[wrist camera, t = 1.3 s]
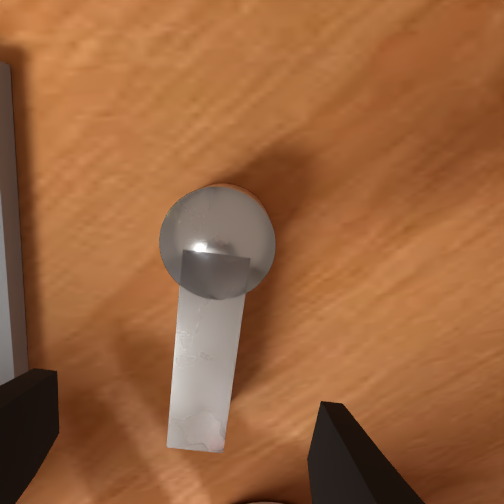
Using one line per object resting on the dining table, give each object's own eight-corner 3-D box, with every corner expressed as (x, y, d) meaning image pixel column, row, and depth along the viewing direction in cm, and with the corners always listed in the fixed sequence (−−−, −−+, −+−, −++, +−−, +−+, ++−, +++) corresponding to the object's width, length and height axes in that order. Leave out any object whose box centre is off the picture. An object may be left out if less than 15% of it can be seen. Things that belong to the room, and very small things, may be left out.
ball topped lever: (243, 406, 17) (242, 455, 14) (164, 397, 17) (146, 445, 14) (277, 190, 14) (284, 195, 11) (181, 176, 14) (162, 178, 11)
